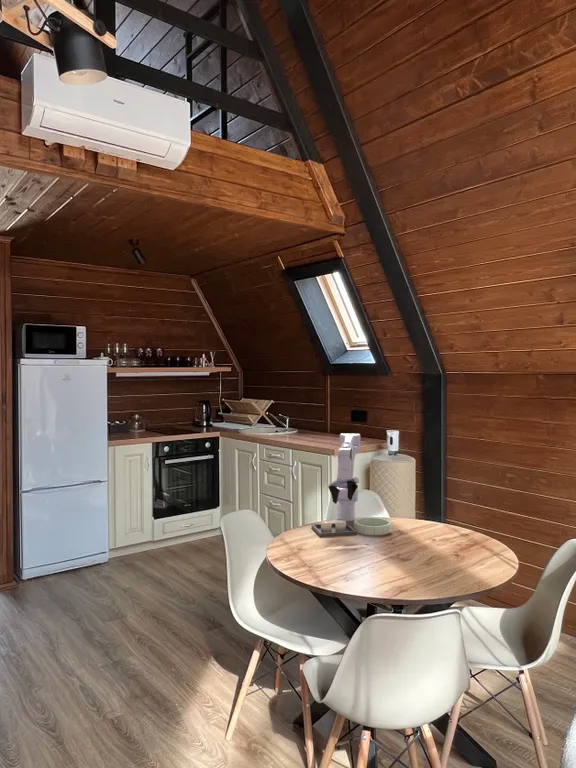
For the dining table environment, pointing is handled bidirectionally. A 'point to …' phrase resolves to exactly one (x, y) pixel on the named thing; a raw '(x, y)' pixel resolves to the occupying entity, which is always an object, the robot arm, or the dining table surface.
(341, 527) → the pebble
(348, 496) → the robot arm
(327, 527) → the pebble
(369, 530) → the bowl
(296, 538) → the dining table surface
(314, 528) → the tray
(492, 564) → the dining table surface
